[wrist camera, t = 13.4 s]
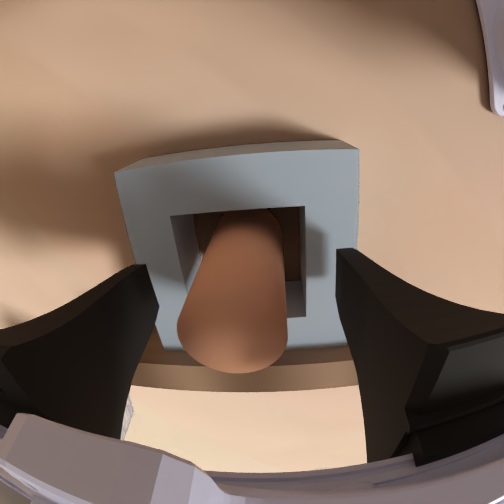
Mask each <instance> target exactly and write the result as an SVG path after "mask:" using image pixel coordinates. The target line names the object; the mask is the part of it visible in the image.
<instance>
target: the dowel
mask: <svg viewBox="0 0 504 504" xmlns="http://www.w3.org/2000/svg"><path fill="white" fill-rule="evenodd" d="M177 335H178V338H179V341H180V343H181V345H182V346H183V348H184V349H185V350H186V352H187V353H188V354H189V355H190V356H191V357H192V358H194V359H195V360H196V361H198V362H199V363H201V364H203V365H205V366H207V367H209V368H211V369H214V370H217V371H221V372H227V373H249V372H254V371H258V370H261V369H263V368H266V367H268V366H269V365H271V364H273V363H274V362H275V361H276V360H278V359H279V358H280V356H281V355H282V354H283V352H284V350H285V348H286V346H287V342H288V326H287V308H286V291H285V275H284V260H283V246H282V233H281V228H280V225H279V223H278V221H277V220H276V218H275V217H274V216H273V215H272V214H271V213H270V212H268V211H267V210H265V209H263V208H260V209H246V210H232V211H227V212H226V213H225V214H224V215H223V216H222V217H221V218H220V220H219V222H218V224H217V226H216V228H215V231H214V233H213V235H212V238H211V240H210V242H209V245H208V247H207V249H206V252H205V254H204V256H203V259H202V261H201V264H200V266H199V268H198V271H197V273H196V275H195V278H194V280H193V283H192V285H191V288H190V290H189V293H188V295H187V297H186V300H185V302H184V305H183V307H182V310H181V312H180V315H179V317H178V321H177Z"/></svg>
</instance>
